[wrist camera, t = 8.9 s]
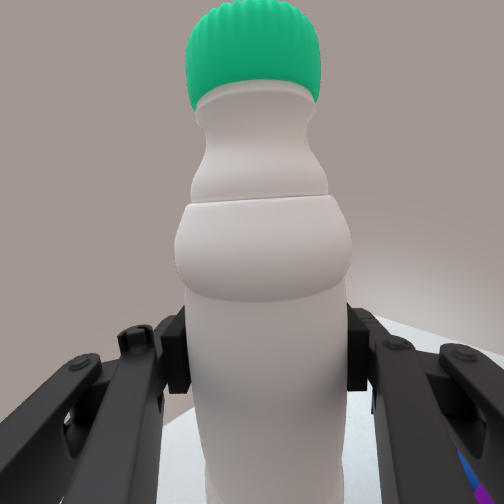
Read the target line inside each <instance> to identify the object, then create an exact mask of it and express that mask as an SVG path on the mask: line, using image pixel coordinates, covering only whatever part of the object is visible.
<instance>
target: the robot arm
mask: <svg viewBox="0 0 504 504" xmlns="http://www.w3.org/2000/svg"><path fill="white" fill-rule="evenodd" d="M347 321H348V370H347V390H348V391H367V380H369V382H370V384H371V385H372V387H373V389H372V408H371V414H374V423H375V434H376V444H377V455H378V466H379V476H380V487H381V497H382V504H478V502H477V500H476V498H475V495H474V493H473V490H472V488H471V485H470V483H469V480H468V478H467V475H466V473H465V470H464V468H463V465H462V463H461V460H460V458H459V456H458V453H457V451H456V448H455V446H456V447H457V449H458V450H459V452H460V453H461V455H462V456H463V458H464V459H465V461H466V462H467V464H468V465H469V466H470V468H471V469H472V471H473V472H474V474H475V475H476V477H477V478H478V480H479V481H480V483H481V484H482V486H483V487H484V489H485V490H486V492H487V493H488V495H489V496H490V498H491V499H492V501H493V502H494V504H504V370H503V369H502V368H501V367H500V366H498V365H497V364H496V363H495V362H493V361H492V360H491V359H490V358H488V357H487V356H486V355H484V354H483V353H481V352H480V351H478V350H476V349H473V348H471V347H469V346H466V345H465V346H464V345H462V344H454V343H448V344H443V345H441V346H440V352H439V354H435V353H429V352H422V351H418V350H416V349H415V347H414V346H413V344H412V343H411V342H409V341H408V340H406V339H404V338H401V337H399V336H394V335H391V334H390V333H389V332H388V331H387V330H386V329H385V328H384V327H383V325H382V324H381V323H379V321H378V320H377V319H375V317H374V316H373V315H372V314H371V313H370V312H368V311H367V310H365V309H363V308H351V307H350V306H349V304H348V303H347ZM117 338H118V343H119V347H120V352H121V356H120V358H119V359H116V360H112V361H108V362H103V363H101V360H100V356H99V355H98V354H93V353H90V354H83V355H81V356H77V357H75V358H74V359H72V360H70V361H68V362H67V363H66V364H64V365H63V366H62V367H61V368H60V369H59V370H57V371H56V372H55V373H54V374H53V375H52V376H51V377H50V378H49V379H48V380H47V381H45V382H44V383H43V384H42V385H41V386H40V387H39V388H38V389H37V390H36V391H35V392H34V393H33V394H31V395H30V396H29V397H28V398H27V399H26V400H25V401H24V402H23V403H22V404H21V405H20V406H18V407H17V408H16V409H15V410H14V411H13V412H12V413H11V414H10V415H9V416H8V417H6V418H5V419H4V420H3V421H2V422H1V423H0V504H60V502H61V500H62V499H63V500H62V503H61V504H156V498H157V486H158V474H159V462H160V450H161V437H162V425H163V413H164V401H165V400H164V394H163V390H164V388H165V386H166V385H167V383H168V387H169V393H170V394H186V393H187V392H188V389H189V387H190V384H191V375H190V367H189V358H188V348H187V337H186V322H185V305H184V306H183V308H182V309H181V310H180V311H179V313H178V314H177V315H170V316H168V317H167V318H165V319H164V320H162V321H161V322H160V324H159V325H158V327H156V328H155V329H154V331H153V329H152V327H151V326H150V325H137V326H133V327H130V328H128V329H125V330H124V331H122V332H121V333H120V334H119V335H118V336H117ZM68 412H69V413H70V416H71V417H70V419H69V420H68V421H67V422H66V423H65V424H64V420H65V417H66V416H67V414H68ZM454 444H455V446H454ZM63 497H64V498H63Z"/></svg>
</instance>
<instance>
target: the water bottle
mask: <svg viewBox="0 0 504 504" xmlns="http://www.w3.org/2000/svg"><path fill="white" fill-rule="evenodd" d="M186 76H187V86H188V93H189V98H190V102H191V105H192V108H193V110H194V111H195V114H194V118H195V121H196V123H197V124H198V125H199V126H200V127H201V128H202V129H203V131H204V133H205V137H206V151H205V155H204V158H203V160H202V162H201V164H200V166H199V168H198V170H197V172H196V174H195V176H194V179H193V181H192V186H191V195H190V196H191V201H192V203H193V204H189V205H187V206H186V208H185V211H184V214H183V217H182V219H181V222H180V225H179V228H178V231H177V234H176V238H175V245H174V257H175V263H176V268H177V271H178V274H179V276H180V278H181V279H182V281H183V283H184V284H185V322H186V337H187V348H188V358H189V367H190V375H191V383H192V391H193V398H194V405H195V412H196V418H197V424H198V429H199V435H200V440H201V445H202V449H203V453H204V457H205V461H206V462H205V488H206V497H207V504H344V475H343V467H342V461H341V457H342V451H343V443H344V433H345V422H346V406H347V370H348V321H347V302H346V291H345V282H344V281H345V280H344V276H345V274H346V273H347V270H348V268H349V265H350V261H351V254H352V242H351V236H350V231H349V228H348V225H347V223H346V220H345V218H344V216H343V214H342V212H341V210H340V208H339V206H338V204H337V202H336V200H335V198H334V197H333V196H331V195H327V194H328V191H329V189H328V181H327V177H326V174H325V172H324V170H323V168H322V167H321V165H320V164H319V162H318V161H317V159H316V158H315V156H314V155H313V153H312V151H311V150H310V147H309V145H308V141H307V135H306V134H307V125H308V122H309V120H310V119H311V118H312V117H313V116H314V115H315V113H316V110H317V107H316V104H315V103H316V101H317V99H318V96H319V90H320V77H321V62H320V51H319V44H318V39H317V35H316V33H315V30H314V27H313V25H312V24H311V23H310V21H309V20H308V18H307V17H306V16H305V14H303V13H301V12H300V11H299V10H298V8H296V7H293V6H292V7H291V6H290V4H289V3H288V2H284V1H283V2H278V1H277V0H268V1H266V0H245V1H240V0H234V1H233V3H232V4H229V3H223V4H222V5H221V6H220V7H219V8H213V9H211V10H210V12H209V13H208V14H207V15H205V16H203V17H202V18H201V20H200V22H199V23H197V24H196V25H195V27H194V29H193V31H192V33H191V35H190V36H189V40H188V44H187V48H186Z"/></svg>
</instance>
